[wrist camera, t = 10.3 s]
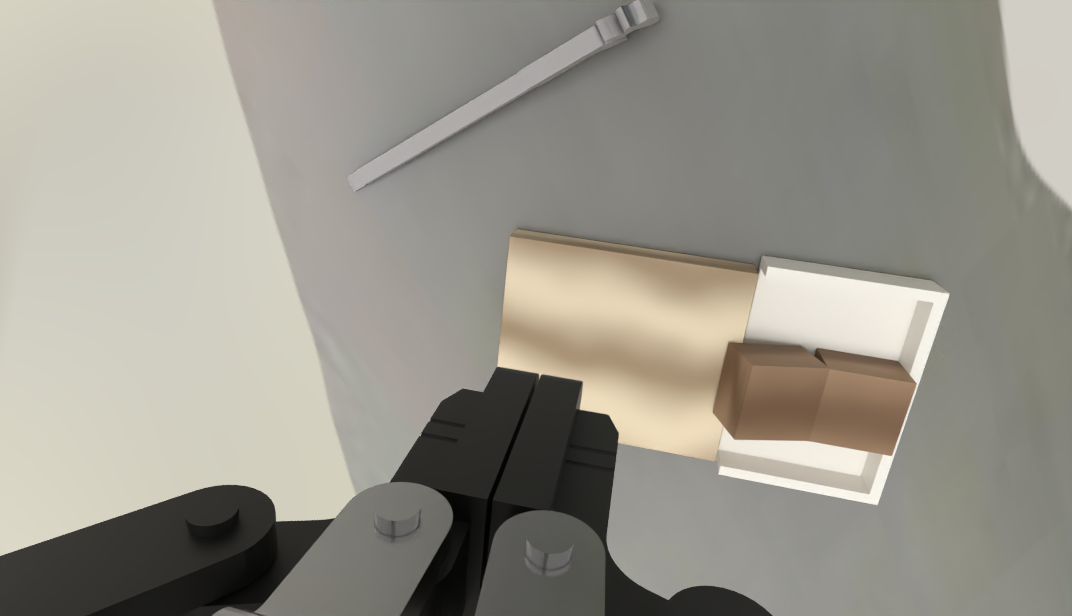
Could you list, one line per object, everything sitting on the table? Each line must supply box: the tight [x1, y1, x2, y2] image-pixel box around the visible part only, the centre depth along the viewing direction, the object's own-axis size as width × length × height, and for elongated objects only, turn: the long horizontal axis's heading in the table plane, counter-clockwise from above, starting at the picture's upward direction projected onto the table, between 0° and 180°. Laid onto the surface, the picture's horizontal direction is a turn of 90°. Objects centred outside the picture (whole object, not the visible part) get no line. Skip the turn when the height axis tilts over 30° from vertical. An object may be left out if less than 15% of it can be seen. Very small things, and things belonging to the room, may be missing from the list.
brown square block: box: [713, 342, 830, 441], centre depth 37 cm, size 4×4×3 cm
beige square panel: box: [497, 229, 759, 461], centre depth 40 cm, size 12×14×2 cm
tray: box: [716, 255, 949, 505], centre depth 39 cm, size 13×9×2 cm
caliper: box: [346, 0, 660, 192], centre depth 35 cm, size 20×1×6 cm, turn 118°
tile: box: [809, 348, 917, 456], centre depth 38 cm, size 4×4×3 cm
